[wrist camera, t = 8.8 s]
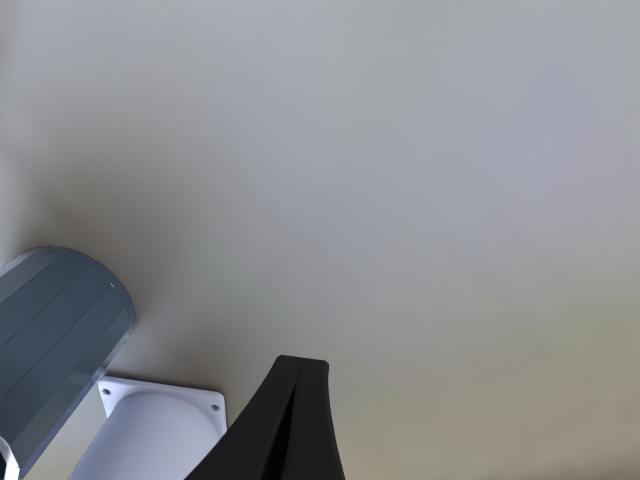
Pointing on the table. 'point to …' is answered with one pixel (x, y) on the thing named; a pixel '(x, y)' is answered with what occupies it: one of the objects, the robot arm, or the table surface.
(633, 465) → the table surface
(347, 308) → the table surface
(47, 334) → the pen pot
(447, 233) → the table surface
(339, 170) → the table surface
